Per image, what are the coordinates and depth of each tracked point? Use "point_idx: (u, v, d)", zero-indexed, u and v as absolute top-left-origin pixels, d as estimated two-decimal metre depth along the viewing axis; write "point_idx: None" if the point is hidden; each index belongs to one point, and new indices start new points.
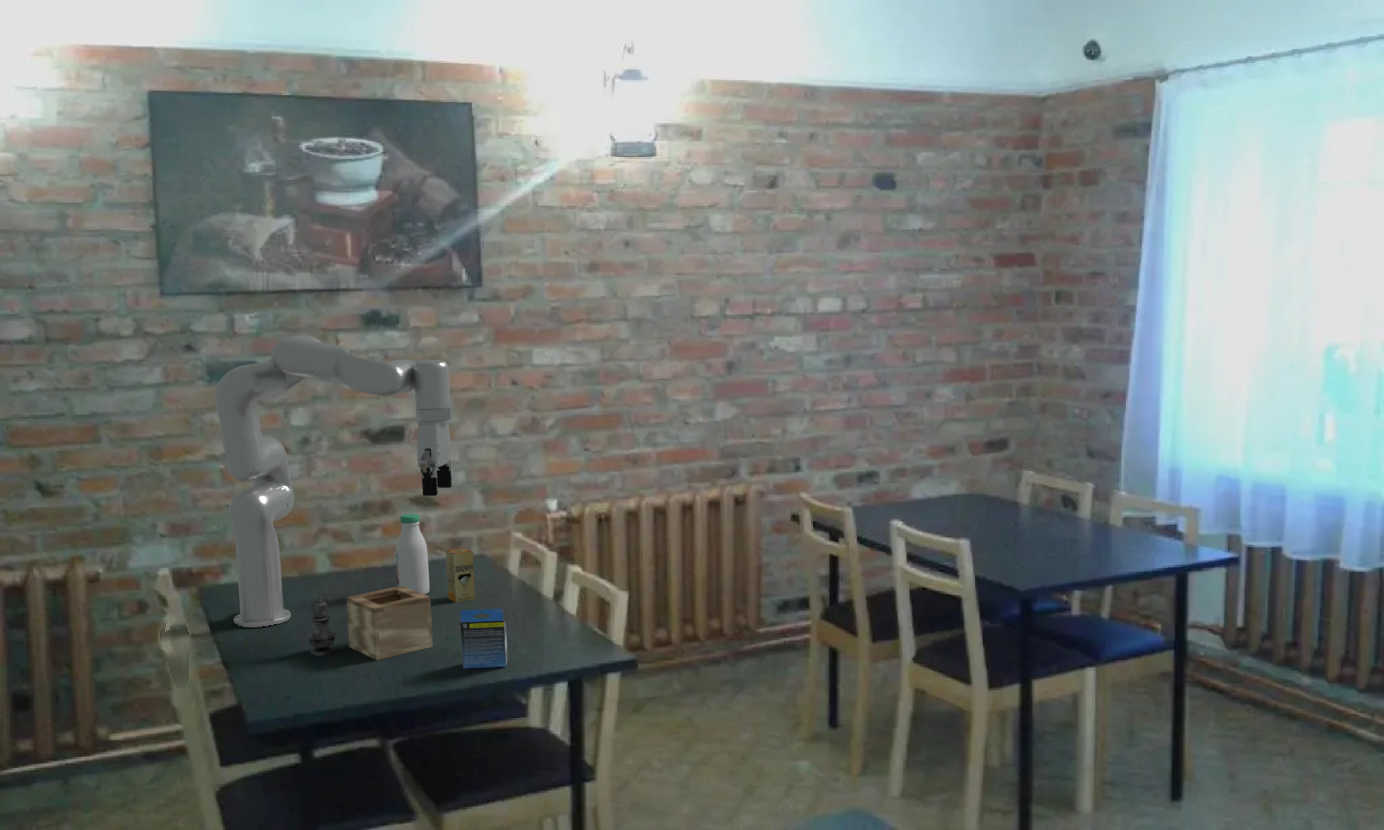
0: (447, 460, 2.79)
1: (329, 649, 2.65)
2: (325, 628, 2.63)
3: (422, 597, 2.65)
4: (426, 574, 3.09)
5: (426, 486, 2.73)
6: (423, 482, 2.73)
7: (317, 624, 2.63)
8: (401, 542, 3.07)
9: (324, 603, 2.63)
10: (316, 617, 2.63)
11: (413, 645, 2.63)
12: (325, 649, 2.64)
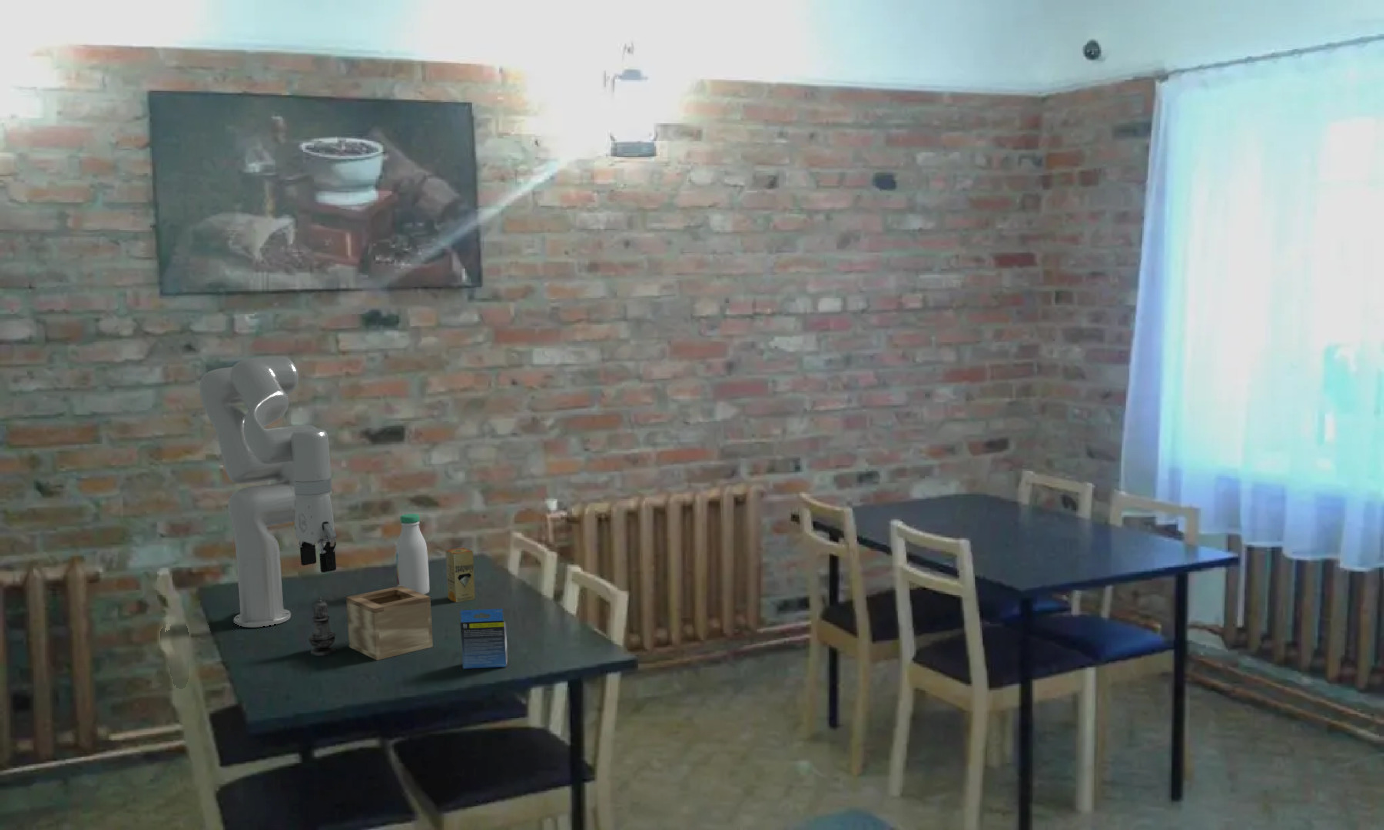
0: None
1: (329, 649, 2.65)
2: (325, 628, 2.63)
3: (422, 597, 2.65)
4: (426, 574, 3.09)
5: (327, 561, 2.58)
6: (322, 558, 2.58)
7: (317, 624, 2.63)
8: (401, 542, 3.07)
9: (324, 603, 2.63)
10: (316, 617, 2.63)
11: (413, 645, 2.63)
12: (325, 649, 2.64)
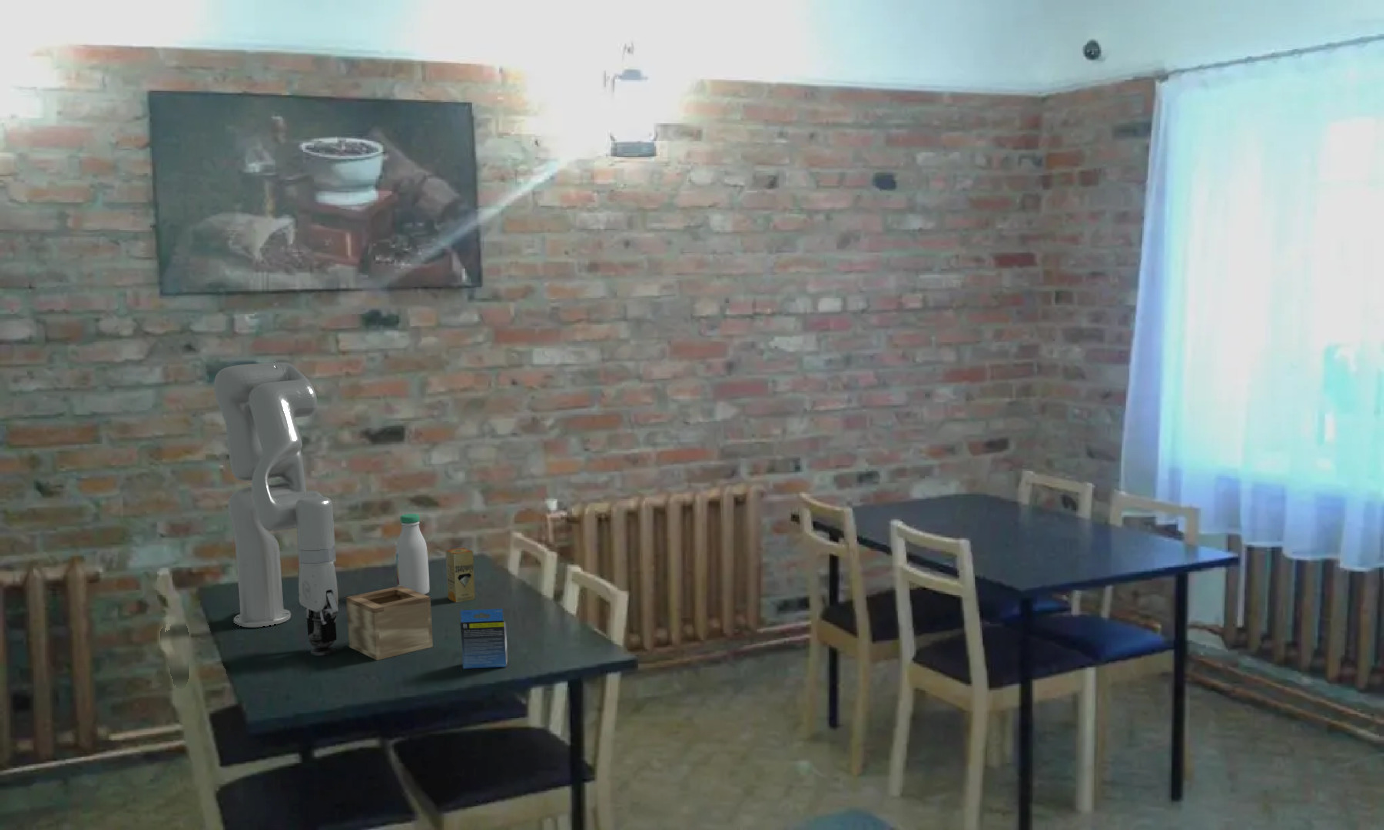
0: None
1: (329, 649, 2.65)
2: None
3: (422, 597, 2.65)
4: (426, 574, 3.09)
5: (328, 632, 2.61)
6: (322, 629, 2.61)
7: (317, 624, 2.63)
8: (401, 542, 3.07)
9: None
10: (316, 617, 2.63)
11: (413, 645, 2.63)
12: (325, 649, 2.64)
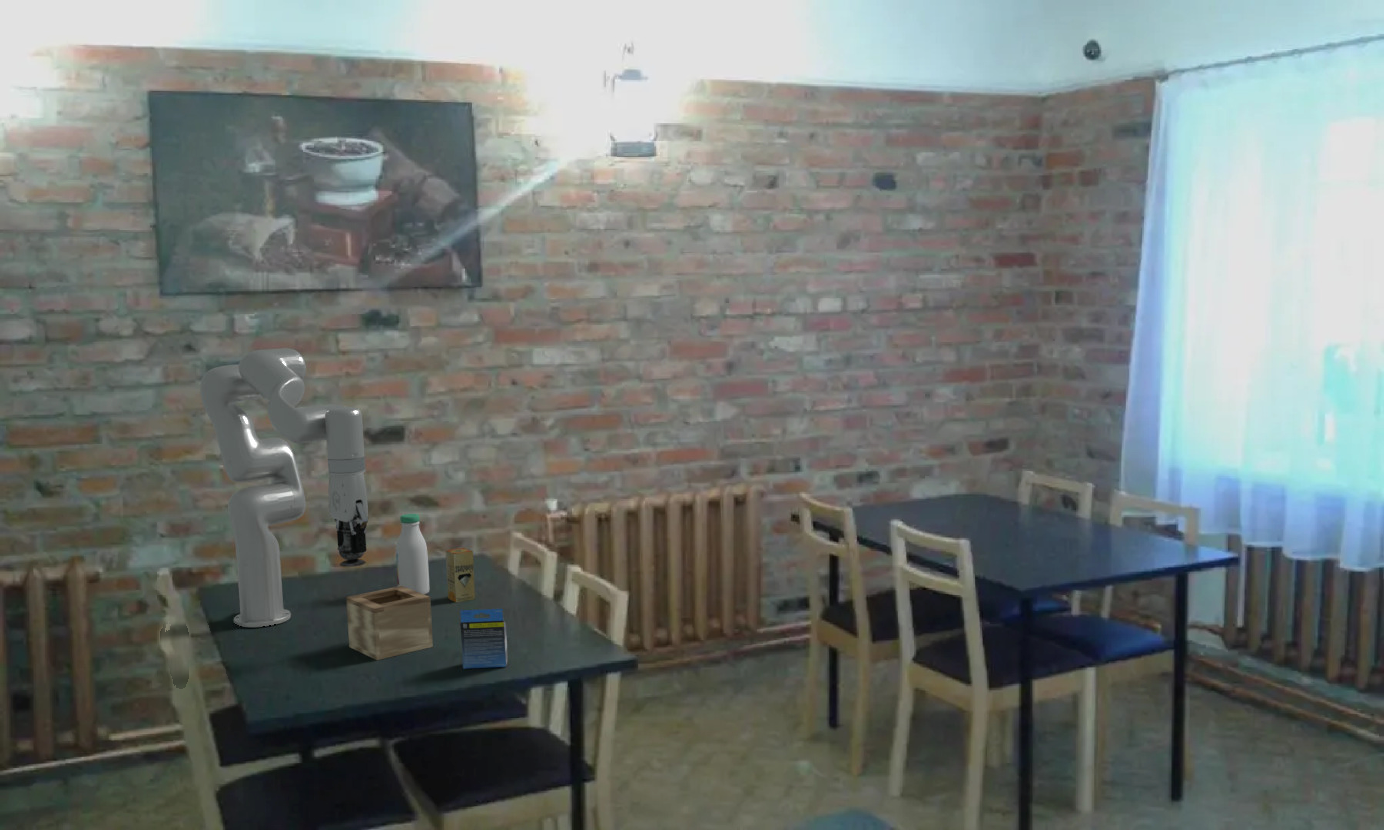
0: None
1: (359, 561, 2.63)
2: None
3: (422, 597, 2.65)
4: (426, 574, 3.09)
5: (358, 543, 2.60)
6: (352, 539, 2.59)
7: (347, 536, 2.62)
8: (401, 542, 3.07)
9: None
10: (346, 528, 2.62)
11: (413, 645, 2.63)
12: (355, 561, 2.63)
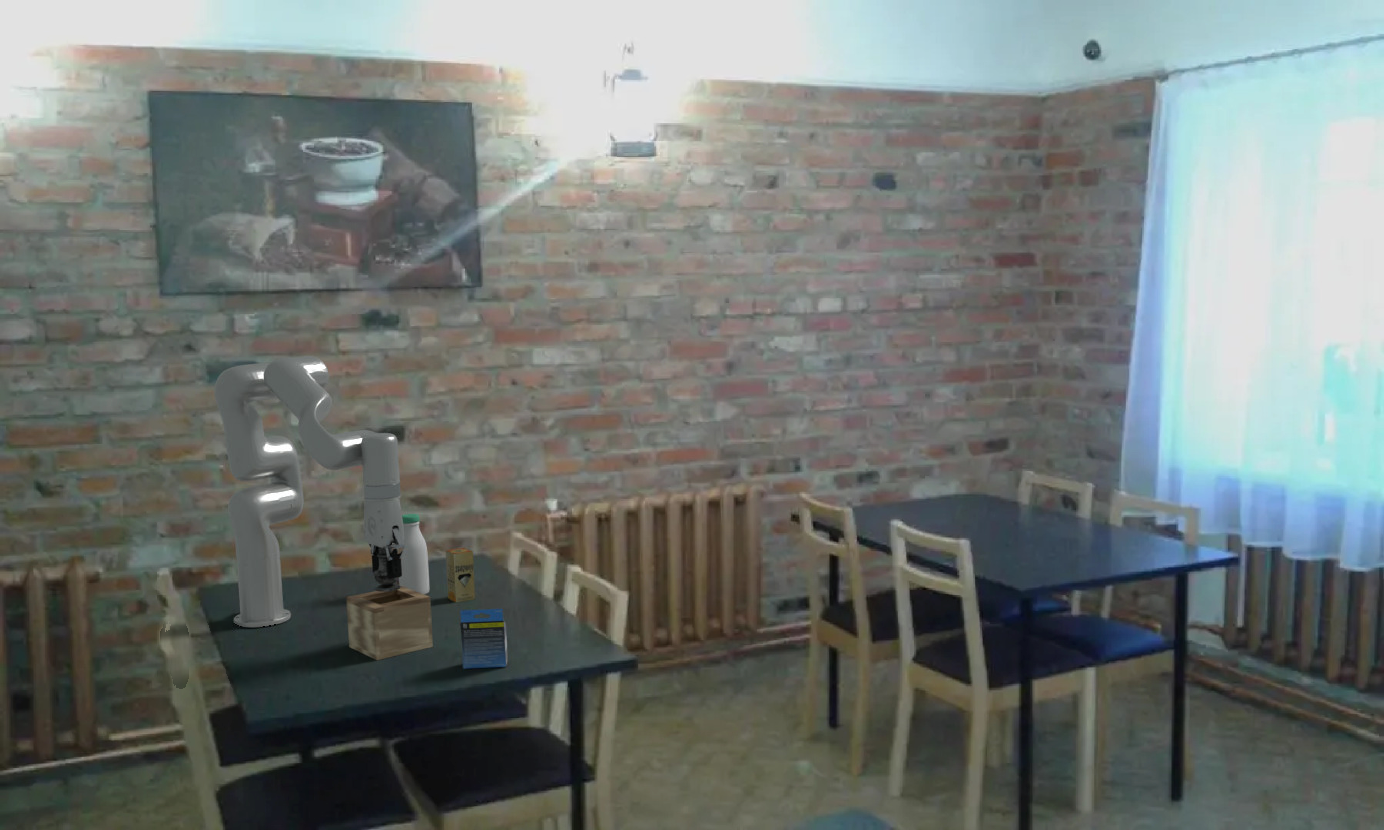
0: None
1: (394, 586, 2.65)
2: None
3: (422, 597, 2.65)
4: (426, 574, 3.09)
5: (394, 568, 2.61)
6: (388, 565, 2.61)
7: (383, 561, 2.63)
8: None
9: None
10: (381, 553, 2.63)
11: (413, 645, 2.63)
12: (390, 586, 2.65)
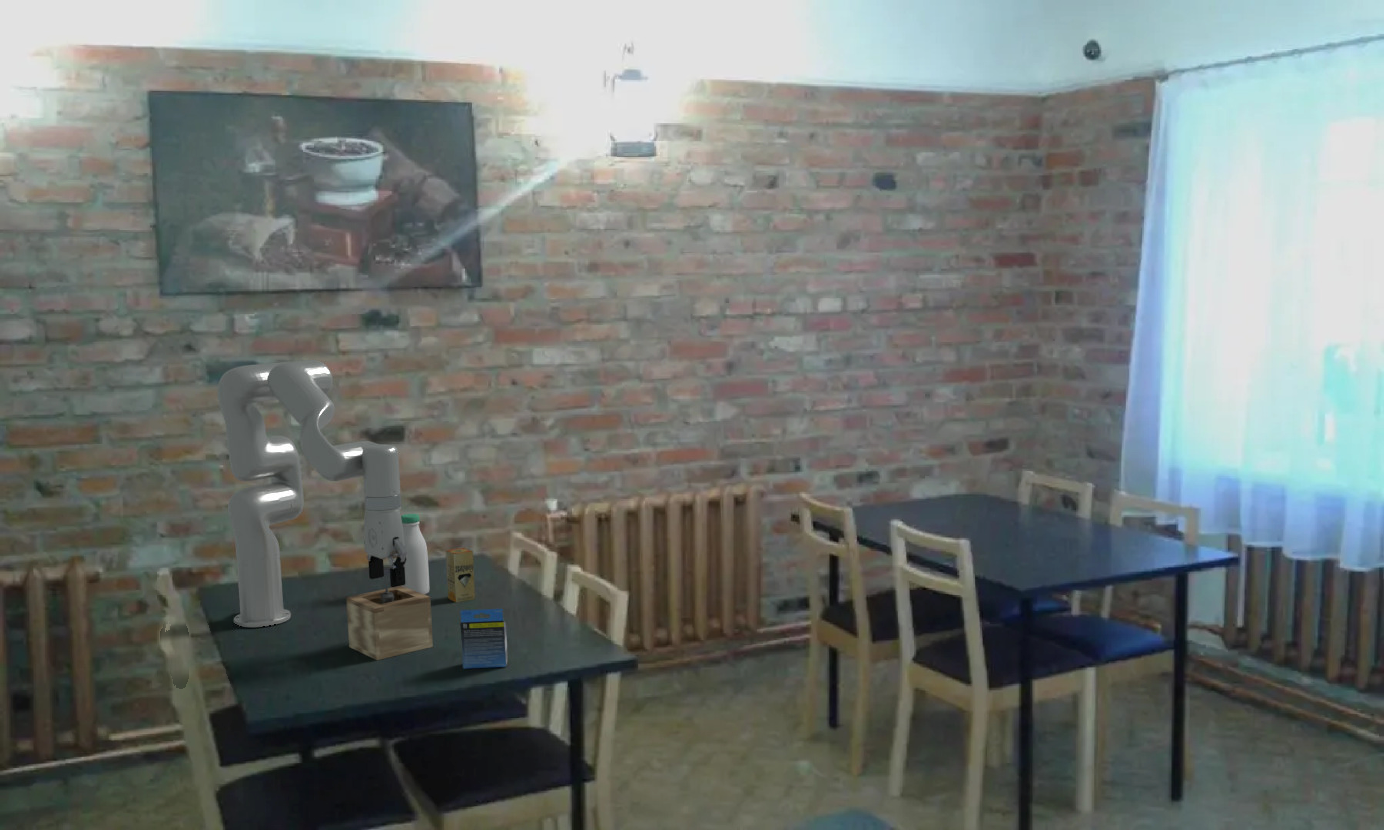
0: None
1: None
2: None
3: (422, 597, 2.65)
4: (426, 574, 3.09)
5: (397, 576, 2.60)
6: (392, 573, 2.60)
7: None
8: None
9: (391, 595, 2.64)
10: None
11: (413, 645, 2.63)
12: None
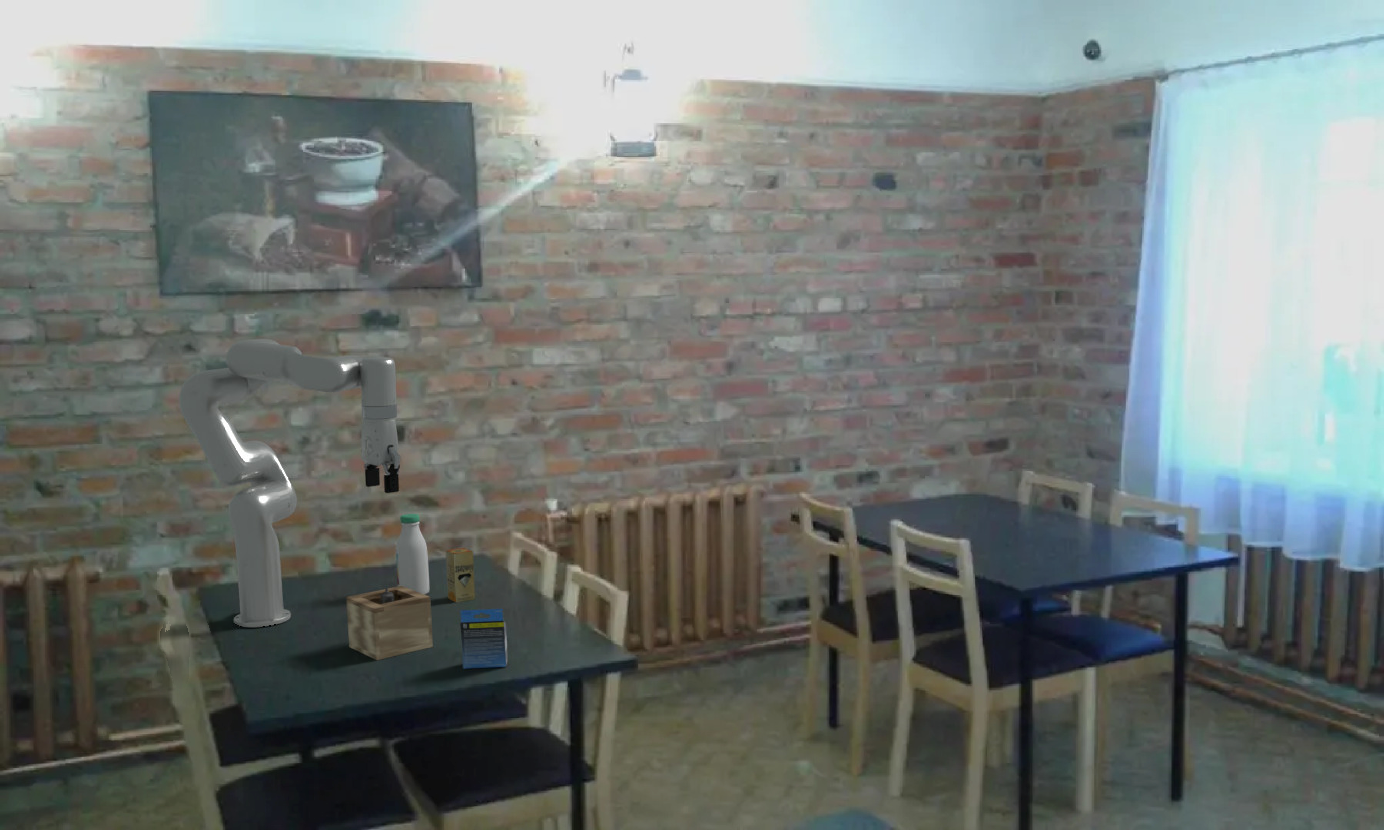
0: None
1: None
2: None
3: (422, 597, 2.65)
4: (426, 574, 3.09)
5: (391, 483, 2.72)
6: (386, 479, 2.72)
7: None
8: (401, 542, 3.07)
9: (391, 594, 2.65)
10: None
11: (413, 645, 2.63)
12: None
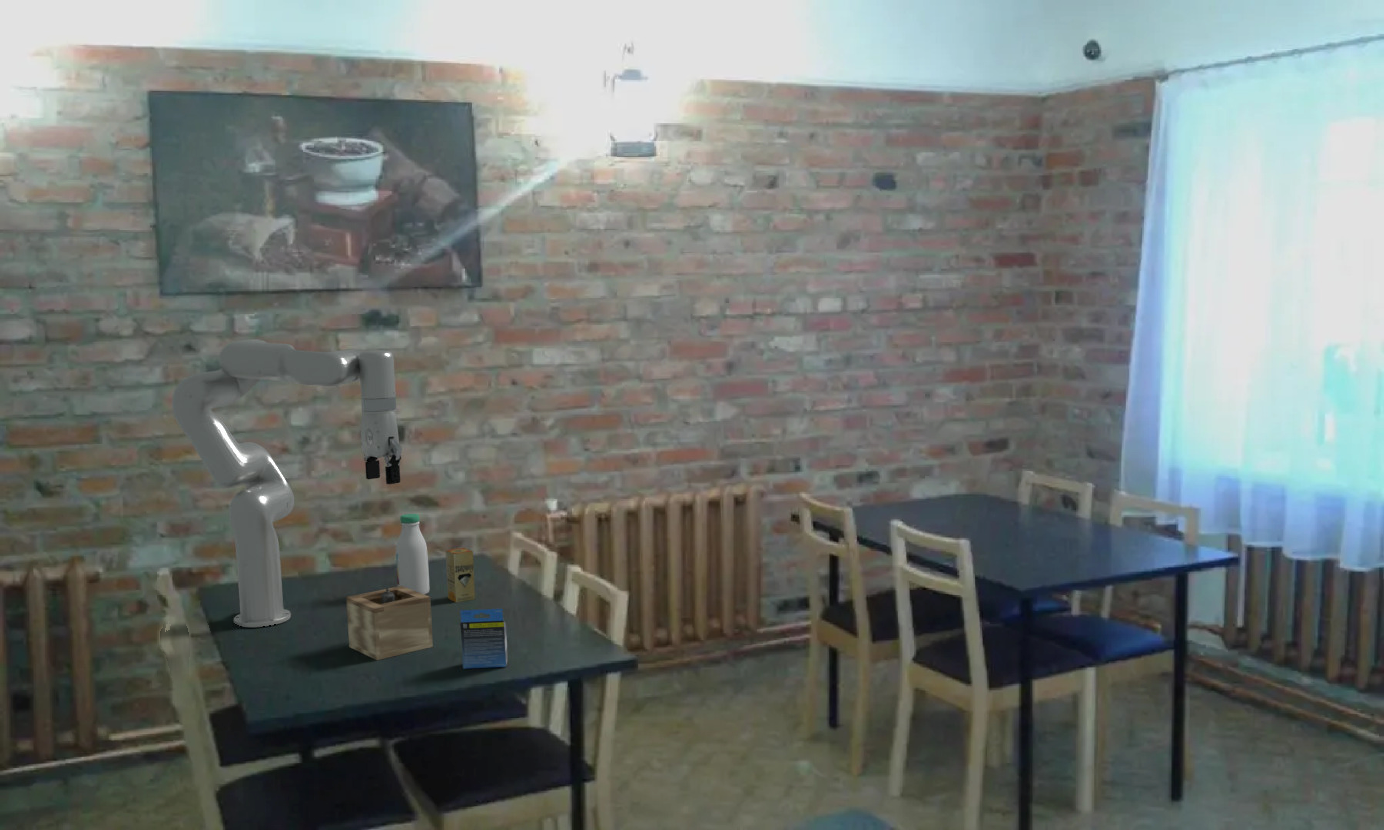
0: None
1: None
2: None
3: (422, 597, 2.65)
4: (426, 574, 3.09)
5: (393, 474, 2.75)
6: (387, 471, 2.75)
7: None
8: (401, 542, 3.07)
9: (392, 594, 2.65)
10: None
11: (413, 645, 2.63)
12: None
